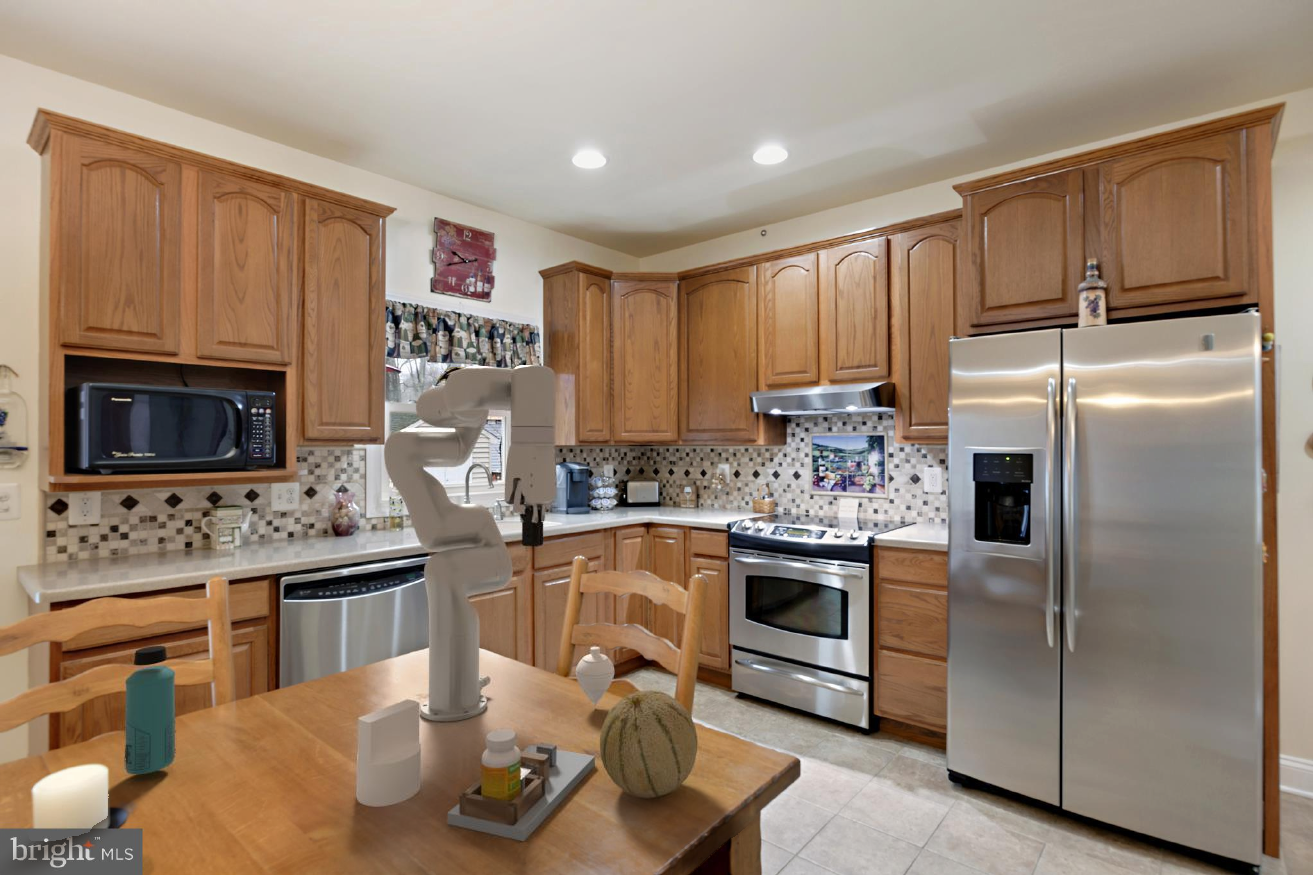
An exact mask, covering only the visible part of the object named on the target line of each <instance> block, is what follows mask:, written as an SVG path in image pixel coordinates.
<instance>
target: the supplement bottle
mask: <svg viewBox="0 0 1313 875" xmlns="http://www.w3.org/2000/svg"><path fill="white" fill-rule="evenodd" d="M516 734H517V733H516V732H515V731H514V730H511V729H507V728H506V729H504V728H503V729H496V730H492V731H490V732H489V733H488V734H487V735H486V749H485V750H484V751H483V753H482V755H481V767H480V768H481V774H480V776H481V778H480V779H481V796H484V797H489V798H494V799H499V800H504V801H508V802H512V801H513V800H514V799H515V798H516V797H517V796H518V795H519V794H520V793H521V753H520V751H521V750H520V749H519V747H517V746H516V743H517V738H516V737H517V736H516Z"/></svg>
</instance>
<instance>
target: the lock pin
mask: <svg viewBox="0 0 1313 875" xmlns="http://www.w3.org/2000/svg"><path fill="white" fill-rule="evenodd" d="M536 746H537V748H536V754H541V755H546V756H549V767H553V766H554V765H555V764H556V749H557V744H553V743H547V742H540V743H538V744H537V745H536ZM528 774H532V775H537V776H538V765H537V764H532V763H525V764H524V765H523V766H521V792H522V791H523V790H524V789H525V777H526V776H527V775H528Z"/></svg>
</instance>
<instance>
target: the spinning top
mask: <svg viewBox="0 0 1313 875" xmlns="http://www.w3.org/2000/svg"><path fill="white" fill-rule="evenodd" d="M589 651H590V653H589V654H587V655H585V656H582V658H581V660H580V661H579V662H578V663H577V665H576V669H575V677H576V681H577V683H578V684H579V687H580V688H581V690H582V691H583V693H584V695H585V696H586V697H587V698H588V699H589V701H590V702H591V703H592V704H593V708H594V709H597V704H598V703H599V701H601V699H603V697H604V695H605V694H606V692H607V691H608V689H609V687H610V686H611V684H612V681H613V679H614V676H615V667H614V664H613V662H612V660H610V659H609V657H608V656H607V655H605V654H602V653H600V652H601V647H599V646H592V647H590V650H589Z"/></svg>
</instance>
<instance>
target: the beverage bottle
mask: <svg viewBox="0 0 1313 875" xmlns="http://www.w3.org/2000/svg"><path fill="white" fill-rule="evenodd" d="M167 659H168V655H167V648H166V646H164V645H152V646H146V647H141V648H139V649H137V650H136V651H135V653H134V660H133V665H135V666H146V667H143V668H140V669H137V670H135V671H133V672H132V673H131V674H130V675H129V676H128V677H127V678H126V680H125V710H124V711H125V712H124V713H125V715H124V720H125V726H123V727H124V733H123V734H124V735H123V736H124V737H125V744H124V761H123V762H124V763H123V764H124V765H123V767H124V769H125V771H126V773H127V774H130V775H143V774H144V775H145V774H150V773H153V772H157V771H160V770H163V769H164V768H166V767H168V766H170V765H172V764H173V763H174V760H175V758H176V752H177V748H176V735H177V730H176V724H177V723H176V720H177V717H176V715H177V713H176V704H175V701H176V700H175V699H176V698H175V697H176V696H175V688H176V687H175V684H176V683H175V676H176V672H175V670H174V669H172V668H170V667H169V666H167V665H156V664H160V663H163V662H165V661H167ZM150 665H152V666H150ZM147 666H148V667H147Z"/></svg>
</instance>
